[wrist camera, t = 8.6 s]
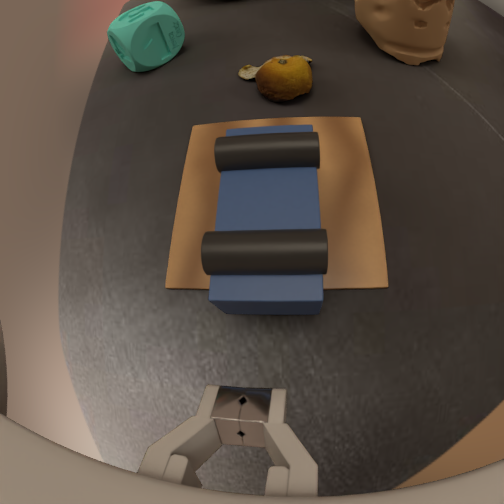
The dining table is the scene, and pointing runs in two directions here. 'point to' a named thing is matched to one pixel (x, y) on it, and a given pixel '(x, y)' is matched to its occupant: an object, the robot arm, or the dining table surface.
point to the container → (407, 27)
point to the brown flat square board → (330, 198)
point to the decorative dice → (147, 36)
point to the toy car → (267, 223)
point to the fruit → (281, 77)
